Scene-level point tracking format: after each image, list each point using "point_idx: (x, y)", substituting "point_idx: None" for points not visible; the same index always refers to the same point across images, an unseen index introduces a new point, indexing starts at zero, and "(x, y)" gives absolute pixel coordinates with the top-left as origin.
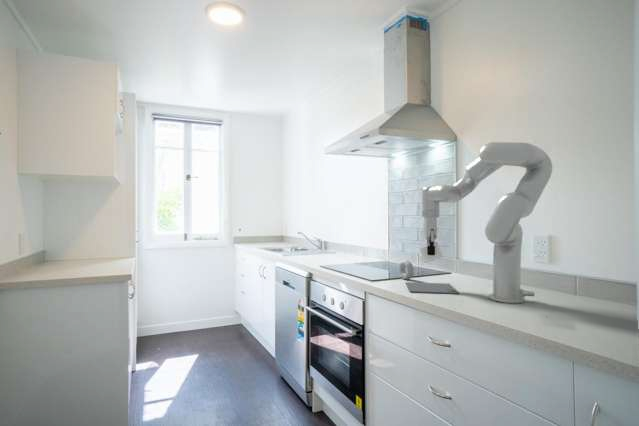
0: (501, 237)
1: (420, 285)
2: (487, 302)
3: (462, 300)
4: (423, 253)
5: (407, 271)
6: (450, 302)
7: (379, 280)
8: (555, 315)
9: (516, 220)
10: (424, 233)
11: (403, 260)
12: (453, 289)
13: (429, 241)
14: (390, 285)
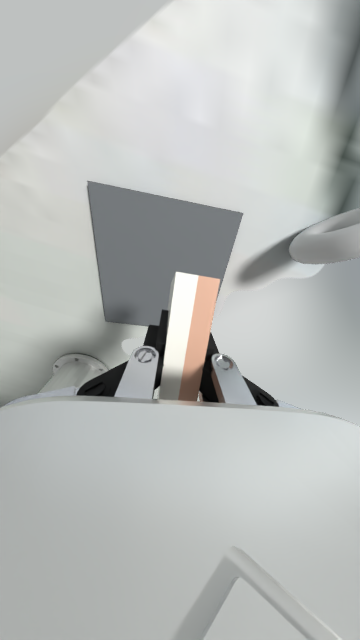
0: None
1: (186, 252)
2: (48, 342)
3: (44, 306)
4: (171, 288)
5: (310, 235)
6: (6, 274)
7: (343, 75)
8: (6, 386)
9: None
10: (213, 620)
11: None
12: (140, 320)
13: (94, 392)
14: (217, 119)
